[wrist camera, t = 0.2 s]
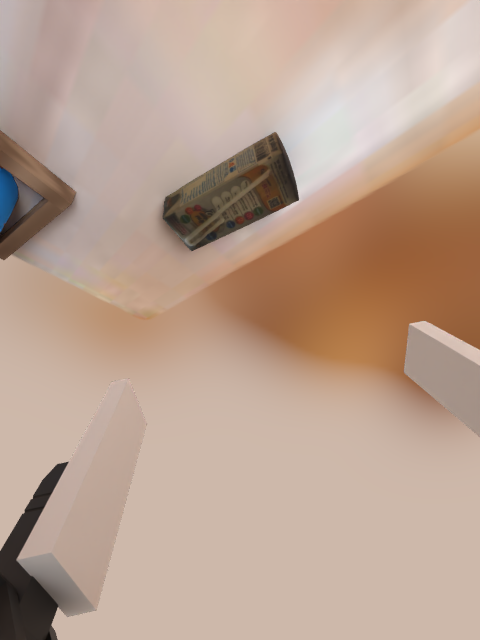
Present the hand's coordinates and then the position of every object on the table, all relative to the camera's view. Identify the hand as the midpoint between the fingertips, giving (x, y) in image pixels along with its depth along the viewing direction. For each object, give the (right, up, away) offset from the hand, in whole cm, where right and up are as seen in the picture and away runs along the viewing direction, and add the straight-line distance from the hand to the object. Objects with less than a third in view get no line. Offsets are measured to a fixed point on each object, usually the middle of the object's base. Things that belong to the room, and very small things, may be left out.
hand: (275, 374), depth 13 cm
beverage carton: (-4, +24, +30) cm, 38 cm away
